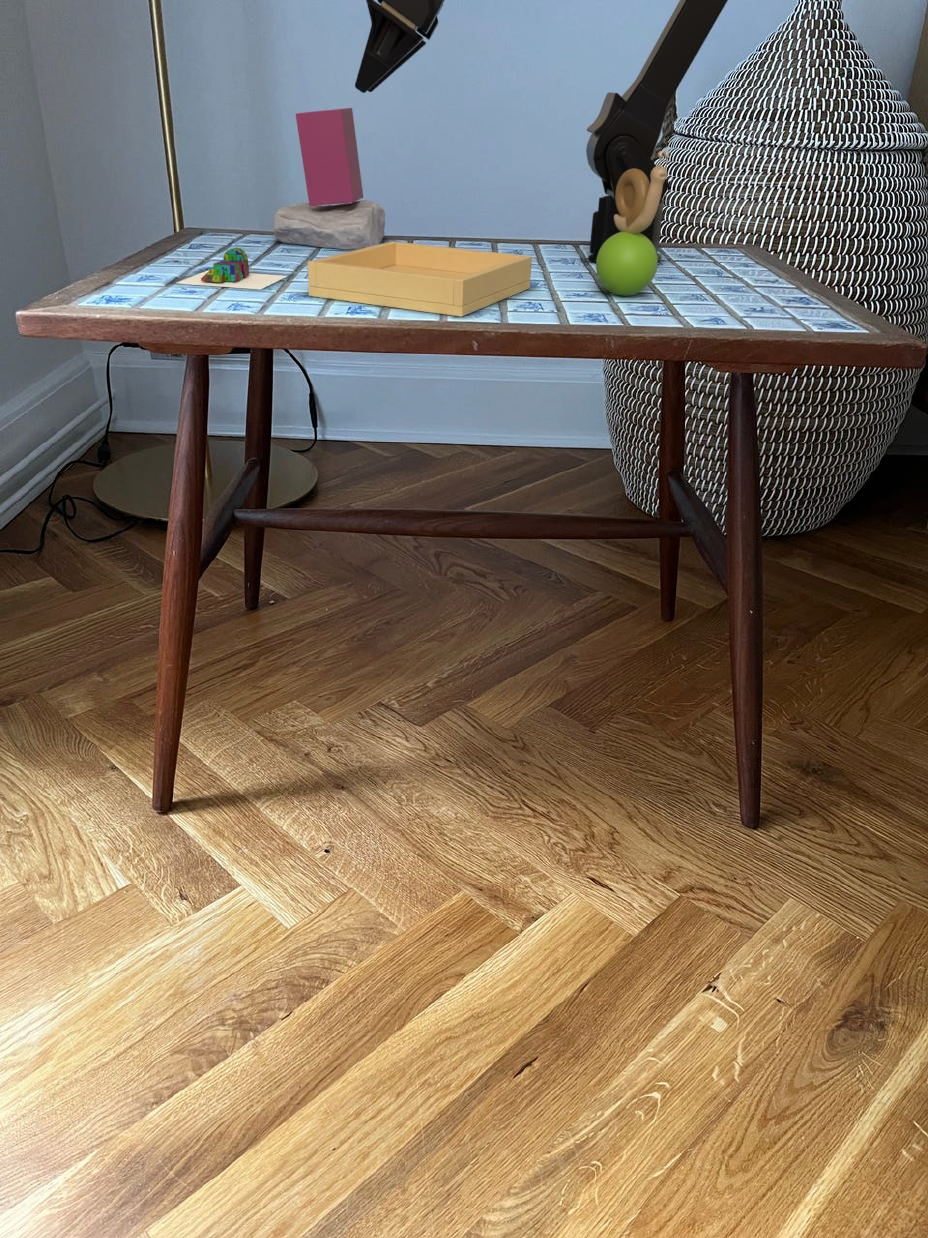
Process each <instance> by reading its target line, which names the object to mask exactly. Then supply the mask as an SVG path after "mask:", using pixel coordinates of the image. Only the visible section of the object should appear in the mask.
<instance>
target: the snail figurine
mask: <svg viewBox="0 0 928 1238" xmlns="http://www.w3.org/2000/svg"><path fill="white" fill-rule="evenodd" d="M671 155H672V154H671V152H670V151H669V150H666V151H665V152H664V151H663V150H660V151H658V152H657V157H658V159H659V165H656V167H654V168H653V170H652V171H651V175H650V178H651V183H649V180H648V178H647V176H646V175H645V174H644V172H642V171H641V170H639V169H635V168H634V169H629V170H627V171H626V172H625V173H624V174H623V175H622V176H621V177H620V179H619V181H618V184H617V187H616V194H615V201H616V206H617V209H618V212H619V214H620V215H618V214H615V215H614V221H615V224H616V227H617V228H618V229H619V230H620V231H621V232H619V233H617V234H614V235H613V236H611V237H610V238H609V239H607V240H606V241H605V242H604V244H603V245H602V247H601V248H600V250H599V253H598V255H597V260H596V261H595V271H596V275H597V278H598V280H599V282H600V283H601V284H602V286H603V287H604V288H605V289H606V290H607V291H609V292H610V293H611V294H614V295H617V296H623V297H628V296H633V295H636V294H639V293H640V292H642V291H644V290H645V289H646V288H647V287H649V285H650V284H651V283H652V281H653V280H654V278H655V276H656V273H657V270H658V263H659V260H658V259H657V253H656V250H655V247H654V246H653V244H652V242H651V241H650V240H649V239H648V238H647V237H646V236H644V235H642V234H640V232H641V231H643V230H645V229H646V228H647V227H648V226H649V225H650V224H651V223H652V221H653V219H654V217H655V214H656V211H657V209H658V205H659V202H660V198H661V194H662V187H663V183H664V181H665V179H667V174H668V173H667V165H668V159H670V157H672V156H671ZM663 158H665V159H666V162H665V166H663V165H662V164H661V163H662V159H663Z"/></svg>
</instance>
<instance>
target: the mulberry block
mask: <svg viewBox="0 0 928 1238" xmlns="http://www.w3.org/2000/svg"><path fill="white" fill-rule="evenodd" d="M295 121H296V126H297V134H298V139H299V146H300V153H301V160H302V166H303V173H304V180H305V186H306V193H307V198H308V204H309V206H328V205H338V204H345V203H353V202H356V201H360V200H361V199H363V198H364V192H363V182H362V175H361V168H360V167H361V166H360V159H359V151H358V144H357V143H358V142H357V135H356V129H355V119H354V112H353V108H352V107H345V108H336V109H335V108H334V109H325V110H315V111H304V112H298V113H295Z"/></svg>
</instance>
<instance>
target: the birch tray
mask: <svg viewBox="0 0 928 1238" xmlns="http://www.w3.org/2000/svg"><path fill="white" fill-rule="evenodd" d="M532 262H533V256H531V255H523V254H513V253H503V252H495V251H486V250H485V251H484V250H477V249H476V250H475V249H467V248H459V247H458V248H457V247H450V246H440V245H431V244H422V243H414V242H413V243H411V242H404V241H403V242H402V241H394V240H392V241H388V242H383V243H380V244H379V245H375V246H371V247H367V248H362V249H353V250H350V251H346V252H342V253H337V254H334V255H330V256H325V257H321V258H317V259H313V260H309V261H307V283H308V284H307V285H308V287H307V288H308V296H309V297H315V298H321V299H330V300H335V301H336V300H337V301H343V302H351V303H358V304H366V305H371V306H372V305H374V306H380V307H388V308H395V309H403V310H409V311H416V312H423V313H431V314H439V315H447V316H454V317H460V318H462V317H464V316H467V315H470V314H471V313H475V312H476V311H479V310H481V309H483V308H486V307H488V306H491V305H493V304H496V303H498V302H500V301H503V300H506V299H507V298H510V297H512V296H514V295H517V294H519V293H522V292H524V291H527V290H529V289H530V288H531V278H532V266H533V265H532V264H533V263H532Z"/></svg>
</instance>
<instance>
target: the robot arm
mask: <svg viewBox="0 0 928 1238" xmlns="http://www.w3.org/2000/svg"><path fill="white" fill-rule="evenodd" d="M445 1H446V0H377V1H375V0H365V2H366V5H367V9H368V13H369V18H370V22H371V26H370V29H369V34H368V37H367V40H366V44H365V47H364V52H363V54H362V58H361V62H360V65H359V68H358V72H357V76H356V80H355V83H354V88H355V89H356V90H358V92H360V93H362V94H365V93H367V92H368V93H372V92H373V91H375V90H376V89H377V88H378V87H379V86H380V85H382V83H383V82H385V81H386V80H387V79H389V78H390V77H391V76H392V75H393V74H394V73H395V72H396V71H397V70H399V69H400V68H401V67H402V66H403V65H404V64H406V62H408V61H409V60H410V59H411V58H412V57H414V55H415V54H417V53H418V52H419V51H420V50H421V49H422V48H424V47H425V46H426V45H427V42H426V41H424V38H425V39H426V40H428V41H431V38H432V36H433V34H434V32H435V31H436V29H437V27H438V25H439V19H438V15H440V12H441V10H442V8H443V7H444V3H445ZM728 1H729V0H679V1H678V3H677V4H676V7H675V8H674V9H673V12H672V13H671V15H670V17H669V19H668V20H667V22H666V24H665V26H664V28H663V30H662V32H661V33H660V35H659V37H658V39H657V40H656V43H655V45H654V46H653V48H652V49H651V52H650V53H649V55H648V56H647V58H646V60H645V62H644V64H643V66H642V67H641V69H640V71H639V73H638V75H637V77H636V78H635V80H634V82H632V83H631V85H630V86H629V87H628V88H627V89H626V91H625V92H624V93H623V94H622V95H620V94H619V93H618V92H610V91H609V92H607V93H606V95H605V98H604V99H603V102H602V105H601V108H600V111H599V113H598V115H597V117H596V118H595V119H594V121H593V123H591V124H590V125H589V126H588V127H587V128H586V131H587V132H588V133H590V136H589V139H588V141H587V143H586V149H585V152H586V161H587V163H588V166H589V168H590V170H591V171H592V172H593V173H594V174H595V175H596V176H597V177H598V178H600V179H601V184H602V187H603V192H604V194H605V196H601V197H599V198H598V206H597V210H595V211H594V212H593V213H592V218H591V219H592V220H591V230H590V241H589V242H590V243H589V253H590V254H589V255H588V256H587V260H588V261H592V262H596V260H597V255H598V253H599V250H600V248H601V247H602V245H603V244H604V242H605V241H606V240H607V239H609V238H610V237H611V236H613V235H614V234H617V233H619V232H621V231H620V230H619V229H618V228H617V227H616V224H615V221H614V215H615V214H618V215H620V214H619V212H618V209H617V206H616V201H615V194H616V187H617V184H618V181H619V179H620V177H621V176H622V175H623V174H624V173H625V172H626V171H627V170H629V169H634V168H635V169H639V170H641V171H642V172H644V174H645V175H646V176H647V178H648V180H649V183H651V178H650V175H651V171H652V170H653V168H654V167H656V166H657V165H656V163H655V162H654V161H653V160H652V157H653V154H654V152H655V150H656V146H657V144H658V141H659V139H660V136H661V133H662V129H663V127H664V122H665V119H666V117H667V112H668V108H669V106H670V103H671V100H672V98H673V97H674V95H675V93H676V91H677V90H678V88H679V87H680V85H681V83H682V81H683V79H684V78H685V76H686V74H687V72H688V70H689V69H690V67H691V65H692V64H693V62H694V60H695V58H696V56H698V53H699V52H700V50H701V48H702V47H703V45H704V43H705V41H706V39H707V37H708V36H709V34H710V32H711V31H712V29H713V28H714V25H715V24H716V22H717V20H718V18H719V17H720V15H721V14H722V11H723V10H724V8H725V6H726V5H727V3H728ZM669 186H670V182H669V181H668V179H667V178H666V179H665V181H664V183H663V187H662V194H661V198H660V202H659V205H658V209H657V211H656V214H655V217H654V219H653V221H652V223H651V224H650V225H649V226H648V227H647V228H646V229H645V230H643V231H641V232H640V234H642V235H644V236H646V237H647V238H648V239H649V240H650V241H651V242H652V244H653V246H654V247H655V250H656V253H657V259H658V261H660V260H662V256H663V255H662V254H660V253H659V245H660V238H661V228H662V222H663V221H662V219H663V214H664V204H665V199H664V198H665V195H666V193H667V191H668V189H669V188H670V187H669Z"/></svg>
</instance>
